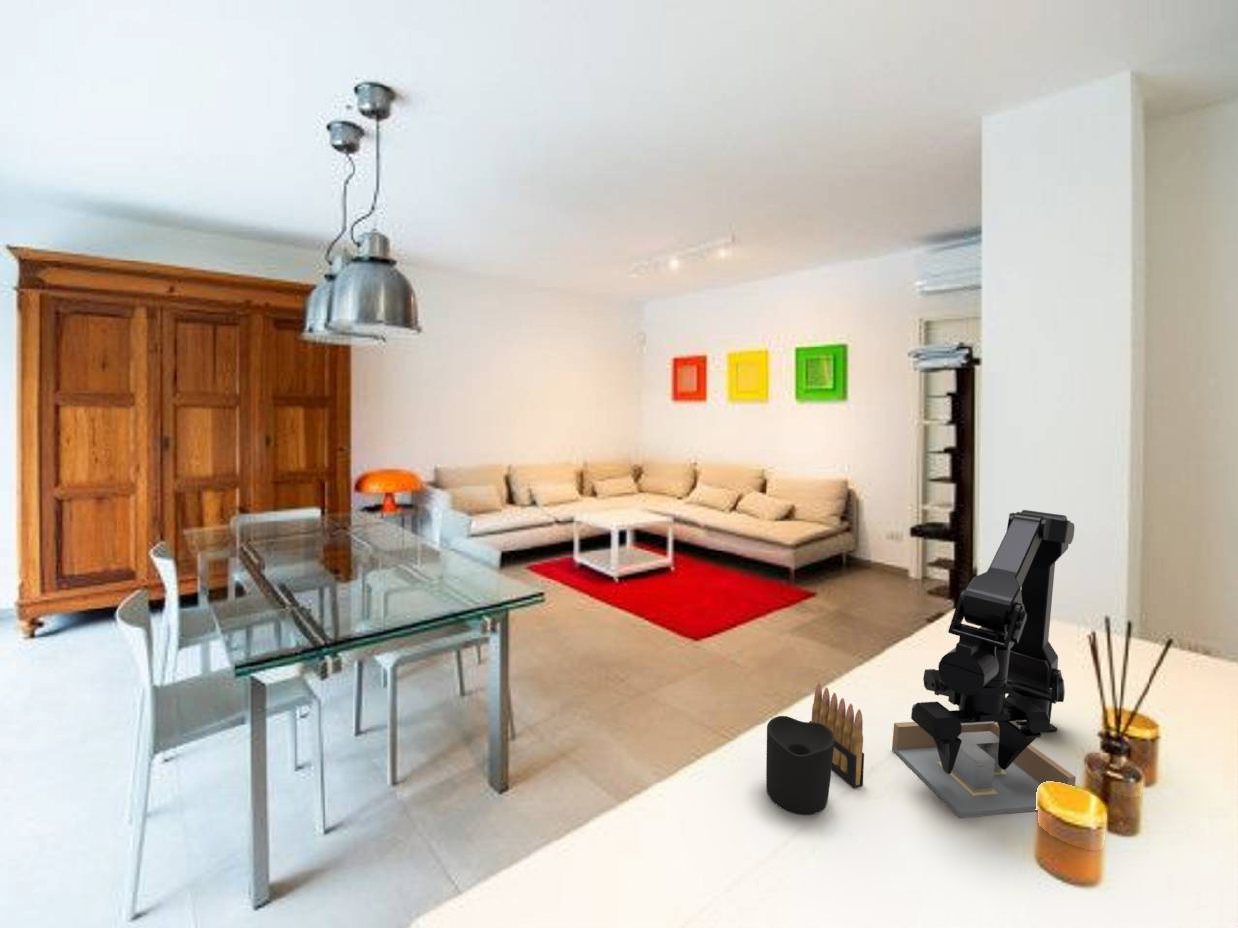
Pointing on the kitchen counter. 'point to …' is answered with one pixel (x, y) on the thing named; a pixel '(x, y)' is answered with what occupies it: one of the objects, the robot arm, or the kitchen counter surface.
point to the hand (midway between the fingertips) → (974, 769)
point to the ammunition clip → (842, 735)
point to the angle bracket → (977, 760)
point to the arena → (1009, 786)
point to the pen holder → (799, 764)
